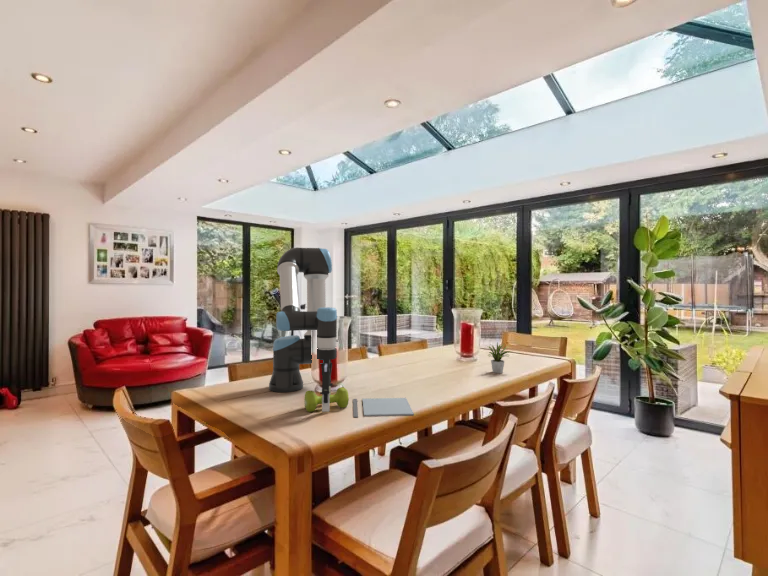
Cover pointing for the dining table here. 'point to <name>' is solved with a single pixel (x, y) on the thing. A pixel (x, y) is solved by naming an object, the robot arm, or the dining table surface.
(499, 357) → the house plant
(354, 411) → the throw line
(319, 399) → the dumbbell
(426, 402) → the dining table surface
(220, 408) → the dining table surface
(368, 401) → the mat
